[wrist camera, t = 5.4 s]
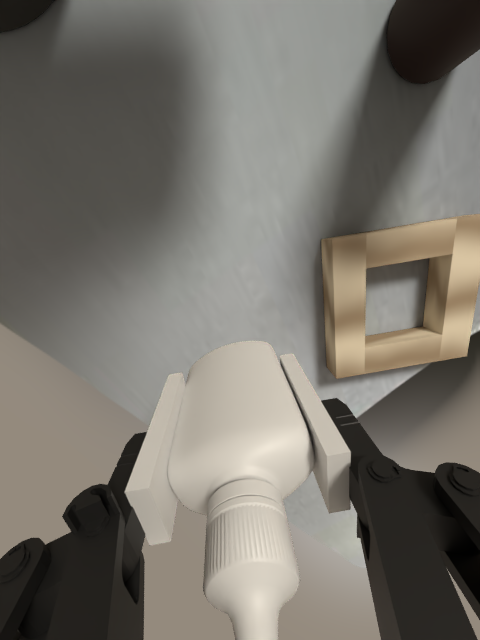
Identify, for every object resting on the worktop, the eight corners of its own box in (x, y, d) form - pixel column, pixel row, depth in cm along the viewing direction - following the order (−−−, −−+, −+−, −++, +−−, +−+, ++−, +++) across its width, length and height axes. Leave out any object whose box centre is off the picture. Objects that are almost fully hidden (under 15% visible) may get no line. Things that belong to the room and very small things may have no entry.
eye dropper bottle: (267, 398, 17) (357, 725, 6) (187, 388, 16) (106, 742, 5) (282, 342, 16) (440, 628, 4) (195, 329, 15) (108, 633, 4)
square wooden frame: (321, 239, 23) (332, 239, 21) (463, 215, 23) (490, 212, 21) (326, 366, 28) (336, 378, 25) (446, 346, 28) (466, 355, 25)
